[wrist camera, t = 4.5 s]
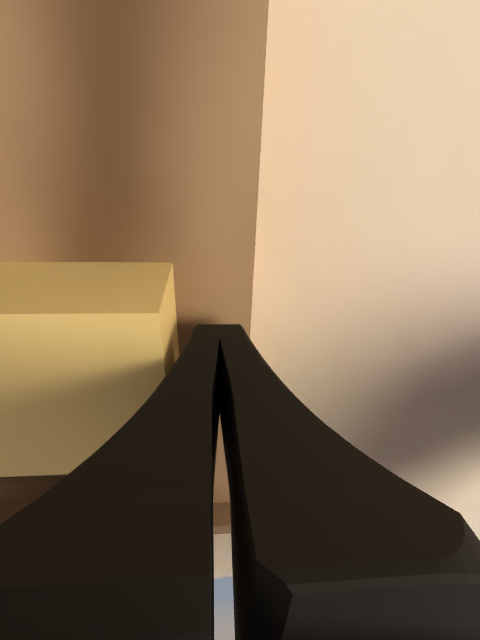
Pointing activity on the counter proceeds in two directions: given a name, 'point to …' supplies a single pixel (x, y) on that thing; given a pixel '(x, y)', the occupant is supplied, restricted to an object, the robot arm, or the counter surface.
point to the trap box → (135, 155)
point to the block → (78, 356)
